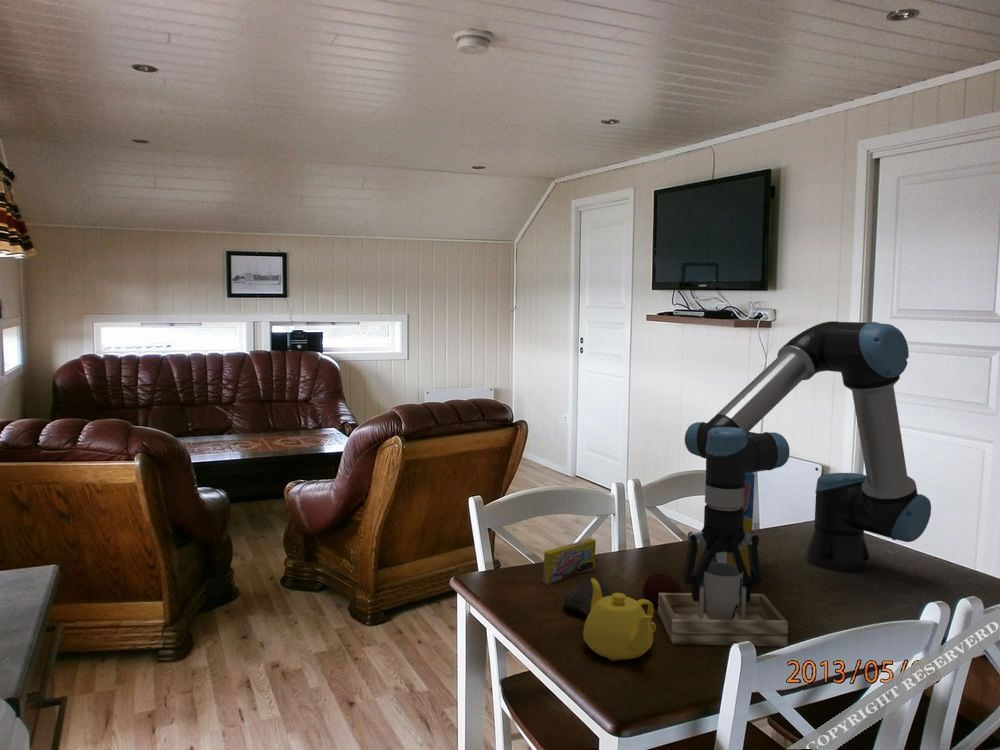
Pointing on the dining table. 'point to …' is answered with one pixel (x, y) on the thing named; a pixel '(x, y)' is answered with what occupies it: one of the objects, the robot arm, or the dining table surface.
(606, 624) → the teapot
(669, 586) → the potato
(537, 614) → the dining table surface
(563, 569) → the candy box
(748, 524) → the game box
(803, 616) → the dining table surface
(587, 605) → the stone
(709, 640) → the tray
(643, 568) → the dining table surface
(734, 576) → the cup
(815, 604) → the dining table surface
